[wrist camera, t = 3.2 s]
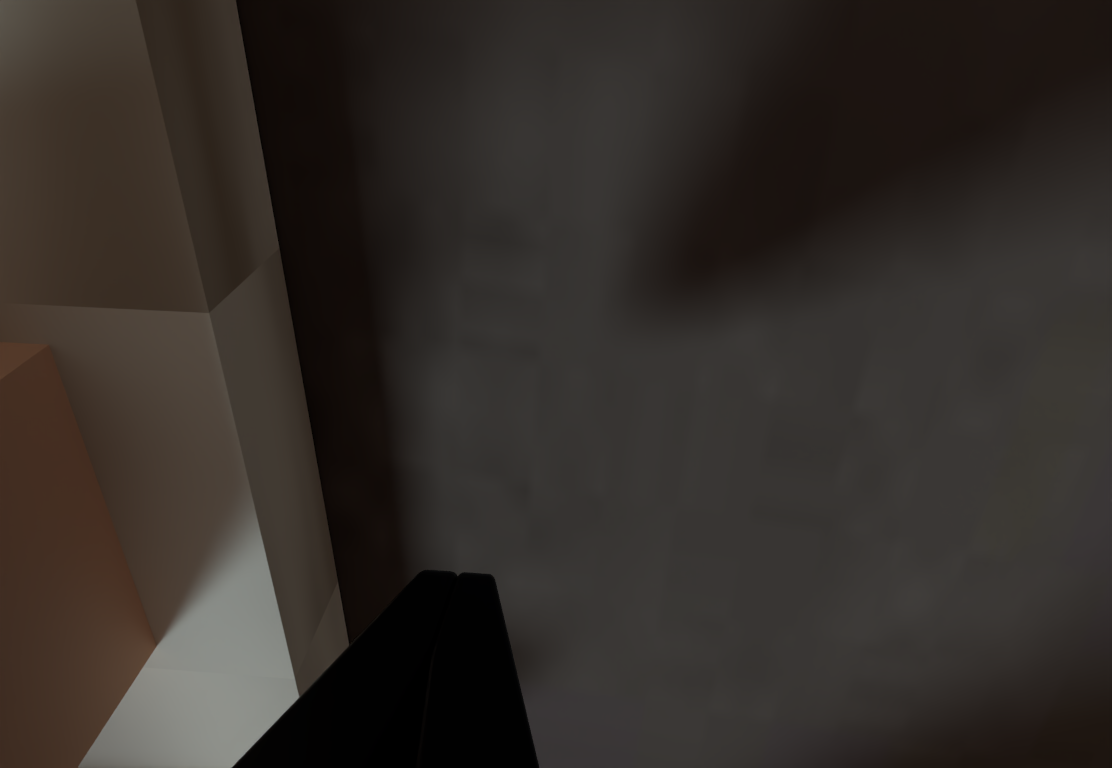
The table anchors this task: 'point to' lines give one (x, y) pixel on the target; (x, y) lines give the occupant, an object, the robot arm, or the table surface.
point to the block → (57, 577)
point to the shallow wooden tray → (170, 355)
